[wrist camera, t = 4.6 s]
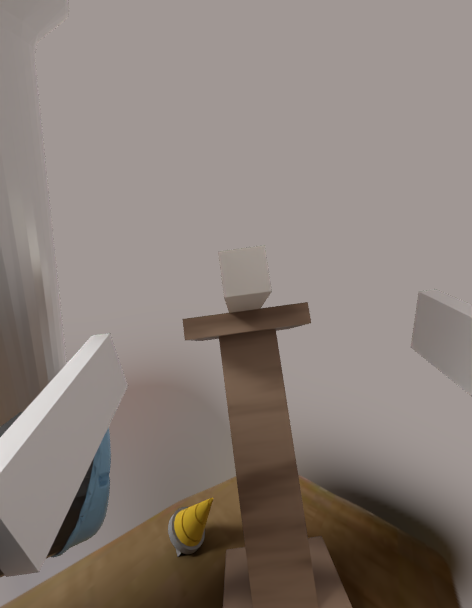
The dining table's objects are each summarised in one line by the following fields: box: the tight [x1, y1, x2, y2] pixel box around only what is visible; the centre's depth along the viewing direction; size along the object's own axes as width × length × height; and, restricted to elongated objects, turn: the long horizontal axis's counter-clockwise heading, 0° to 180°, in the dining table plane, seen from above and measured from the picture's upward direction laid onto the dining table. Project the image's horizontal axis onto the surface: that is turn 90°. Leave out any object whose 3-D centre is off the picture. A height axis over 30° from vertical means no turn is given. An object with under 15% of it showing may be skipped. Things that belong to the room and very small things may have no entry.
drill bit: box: [168, 498, 213, 556], centre depth 38 cm, size 5×5×10 cm
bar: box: [218, 246, 272, 313], centre depth 29 cm, size 24×3×3 cm, turn 0°
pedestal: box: [183, 302, 352, 608], centre depth 30 cm, size 12×12×30 cm
